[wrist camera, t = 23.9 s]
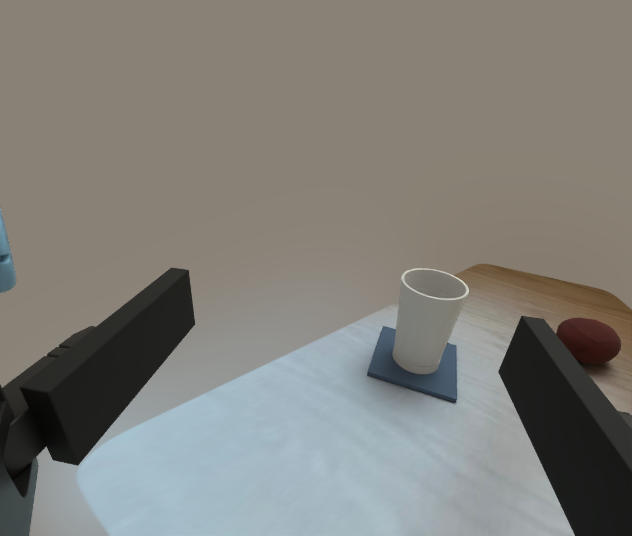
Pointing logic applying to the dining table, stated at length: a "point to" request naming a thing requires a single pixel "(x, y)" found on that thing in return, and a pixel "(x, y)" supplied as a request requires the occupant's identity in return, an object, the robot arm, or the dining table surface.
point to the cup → (426, 318)
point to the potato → (589, 340)
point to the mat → (434, 383)
